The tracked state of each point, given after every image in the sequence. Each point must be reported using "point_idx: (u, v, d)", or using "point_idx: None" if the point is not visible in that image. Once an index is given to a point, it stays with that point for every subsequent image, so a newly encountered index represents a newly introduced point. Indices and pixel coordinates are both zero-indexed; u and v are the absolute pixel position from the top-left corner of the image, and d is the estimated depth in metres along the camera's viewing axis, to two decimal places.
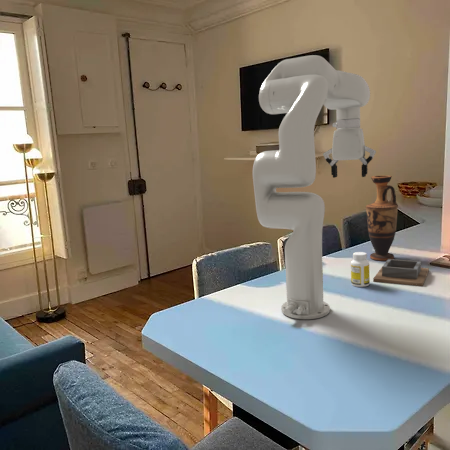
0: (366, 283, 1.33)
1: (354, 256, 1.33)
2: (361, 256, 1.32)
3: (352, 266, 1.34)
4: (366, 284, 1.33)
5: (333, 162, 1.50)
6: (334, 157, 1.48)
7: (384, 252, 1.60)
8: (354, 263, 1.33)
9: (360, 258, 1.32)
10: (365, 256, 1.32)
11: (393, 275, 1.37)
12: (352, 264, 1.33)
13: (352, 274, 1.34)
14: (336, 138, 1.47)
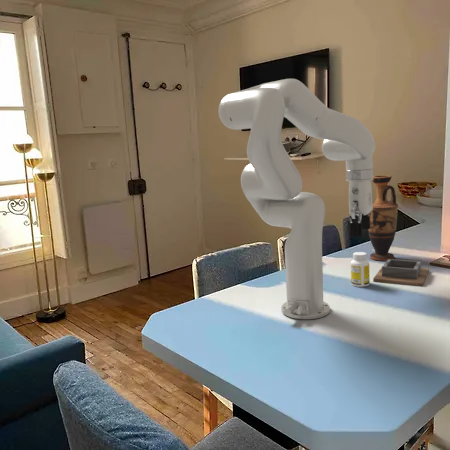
0: (366, 283, 1.33)
1: (354, 256, 1.33)
2: (361, 256, 1.32)
3: (352, 266, 1.34)
4: (366, 284, 1.33)
5: (360, 218, 1.27)
6: (366, 212, 1.27)
7: (384, 252, 1.60)
8: (354, 263, 1.33)
9: (360, 258, 1.32)
10: (365, 256, 1.32)
11: (393, 275, 1.37)
12: (352, 264, 1.33)
13: (352, 274, 1.34)
14: (366, 190, 1.26)
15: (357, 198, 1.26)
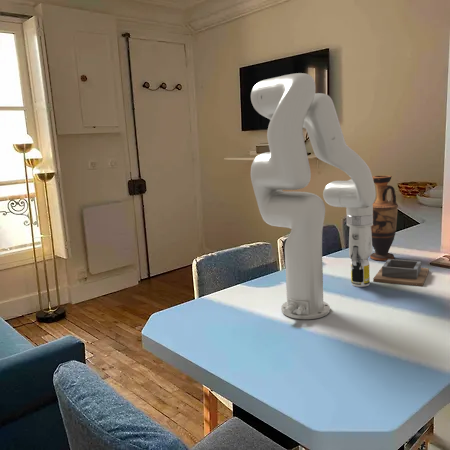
0: (366, 283, 1.33)
1: None
2: None
3: None
4: (366, 284, 1.33)
5: (361, 265, 1.31)
6: (365, 257, 1.29)
7: (384, 252, 1.60)
8: None
9: (360, 258, 1.32)
10: None
11: (393, 275, 1.37)
12: None
13: None
14: (366, 236, 1.28)
15: (357, 243, 1.28)
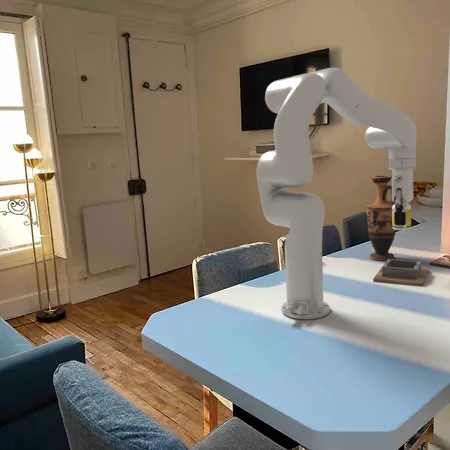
0: (408, 227, 1.35)
1: None
2: None
3: (394, 210, 1.36)
4: (408, 227, 1.35)
5: (404, 207, 1.33)
6: (409, 199, 1.31)
7: (384, 252, 1.60)
8: None
9: (402, 201, 1.34)
10: None
11: (393, 275, 1.37)
12: (394, 208, 1.36)
13: None
14: (409, 178, 1.31)
15: (401, 186, 1.31)
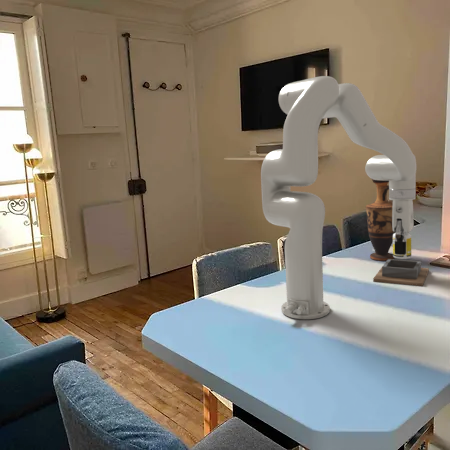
0: (409, 255, 1.37)
1: None
2: None
3: (394, 239, 1.37)
4: (408, 256, 1.37)
5: (404, 237, 1.35)
6: (409, 230, 1.33)
7: (384, 252, 1.60)
8: None
9: (403, 231, 1.36)
10: None
11: (393, 275, 1.37)
12: (394, 237, 1.37)
13: (394, 247, 1.38)
14: (409, 209, 1.32)
15: (401, 216, 1.32)
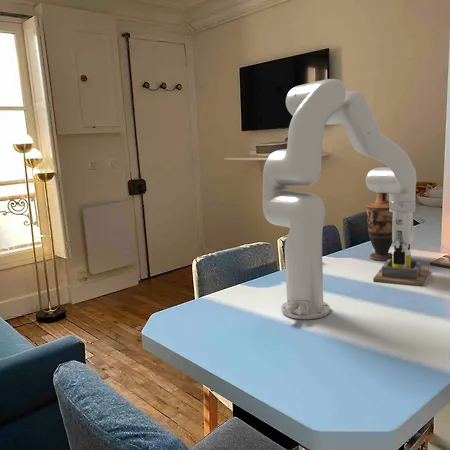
0: None
1: None
2: None
3: None
4: None
5: (403, 248, 1.34)
6: (409, 242, 1.33)
7: (384, 252, 1.60)
8: None
9: None
10: (407, 245, 1.37)
11: (393, 275, 1.37)
12: None
13: None
14: (409, 221, 1.33)
15: (401, 228, 1.33)
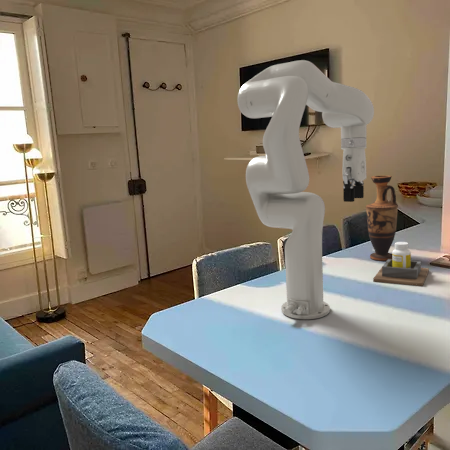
0: None
1: (396, 245, 1.38)
2: (403, 245, 1.37)
3: (394, 255, 1.38)
4: None
5: (353, 184, 1.33)
6: (358, 178, 1.33)
7: (384, 252, 1.60)
8: (396, 252, 1.38)
9: (402, 247, 1.37)
10: (407, 245, 1.37)
11: (393, 275, 1.37)
12: (394, 253, 1.38)
13: (394, 263, 1.39)
14: (359, 157, 1.33)
15: (350, 164, 1.33)
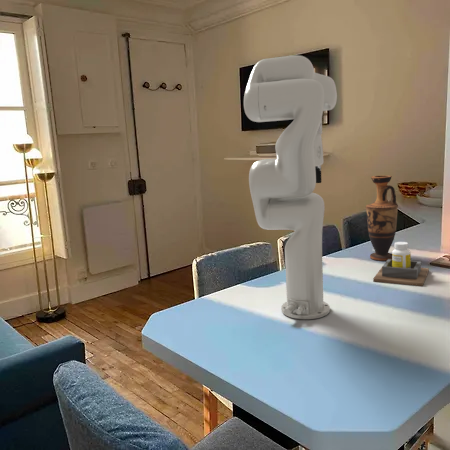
0: None
1: (396, 245, 1.38)
2: (403, 245, 1.37)
3: (394, 255, 1.38)
4: None
5: None
6: (314, 163, 1.35)
7: (384, 252, 1.60)
8: (396, 252, 1.38)
9: (402, 247, 1.37)
10: (407, 245, 1.37)
11: (393, 275, 1.37)
12: (394, 253, 1.38)
13: (394, 263, 1.39)
14: (314, 142, 1.35)
15: None
